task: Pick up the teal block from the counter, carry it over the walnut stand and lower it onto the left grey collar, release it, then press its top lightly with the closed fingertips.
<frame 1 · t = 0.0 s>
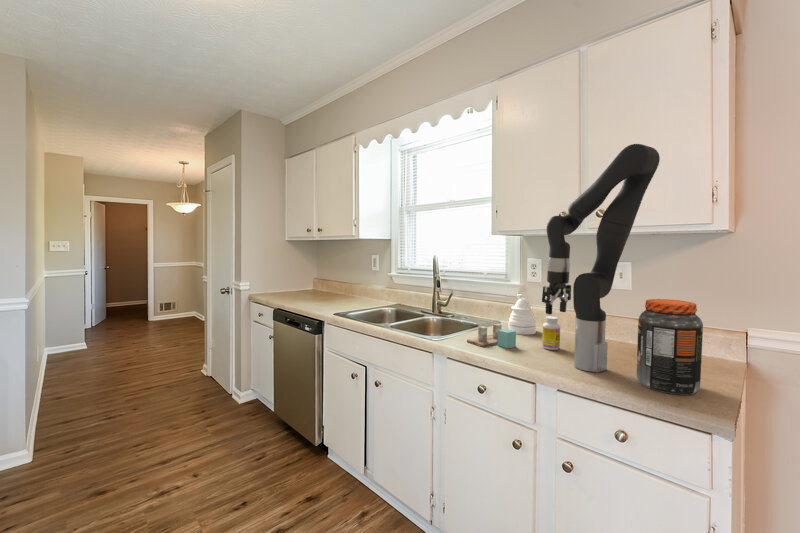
hand: (555, 313, 138), 17 cm above the worktop, tool pointing down, fingers open, 8 cm apart
stand: (489, 341, 162), on the worktop
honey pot: (521, 331, 182), on the worktop
supplement bottle: (550, 348, 152), on the worktop
teal block: (506, 346, 155), on the worktop
supplement tub: (666, 386, 112), on the worktop
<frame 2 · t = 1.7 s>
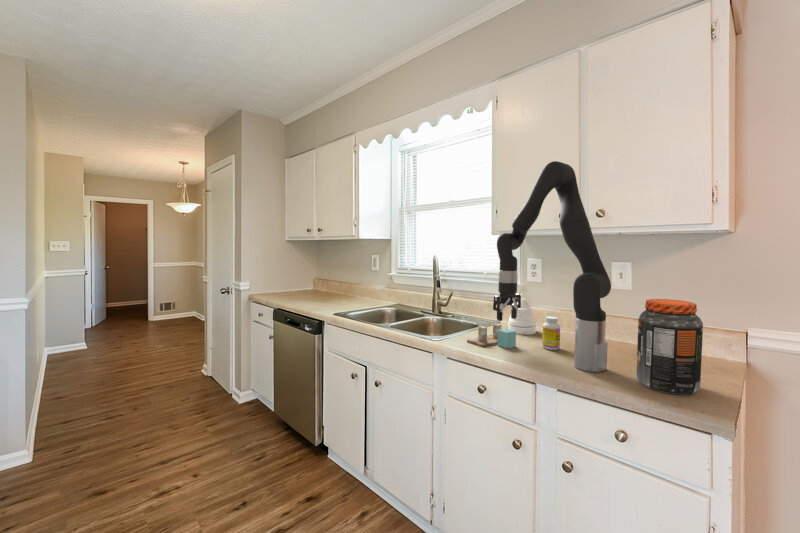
hand: (506, 319, 155), 11 cm above the worktop, tool pointing down, fingers open, 8 cm apart
nothing on the worktop moved.
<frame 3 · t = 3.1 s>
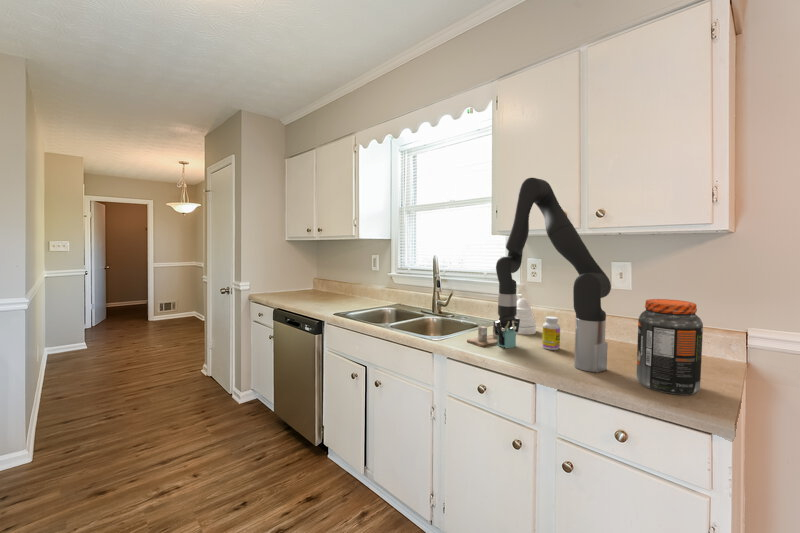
hand: (506, 343, 155), 1 cm above the worktop, tool pointing down, fingers closed on teal block, 5 cm apart
teal block: (506, 346, 155), on the worktop, touching gripper
everything else where it was.
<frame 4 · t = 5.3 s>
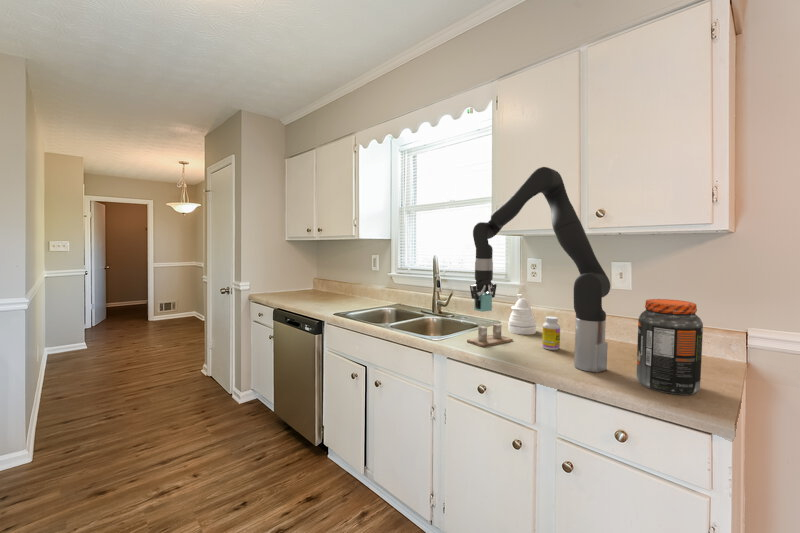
hand: (483, 308, 159), 15 cm above the worktop, tool pointing down, fingers closed on teal block, 5 cm apart
teal block: (482, 310, 159), point 14 cm above the worktop, touching gripper
everything else where it was.
when the fingers open (3 cm above the worktop, at t = 7.6 s): teal block drops 1 cm, resting on stand.
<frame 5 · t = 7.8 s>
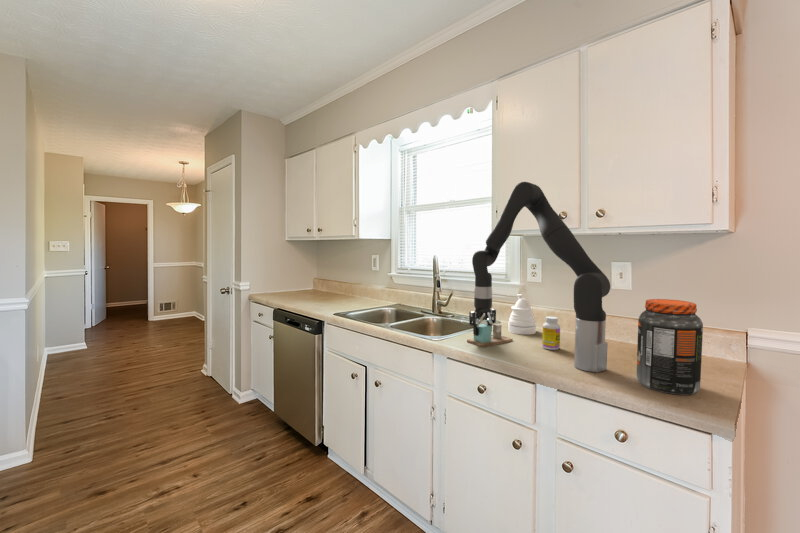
hand: (482, 334, 160), 4 cm above the worktop, tool pointing down, fingers open, 7 cm apart
teal block: (482, 340, 160), point 1 cm above the worktop, touching stand
everything else where it was.
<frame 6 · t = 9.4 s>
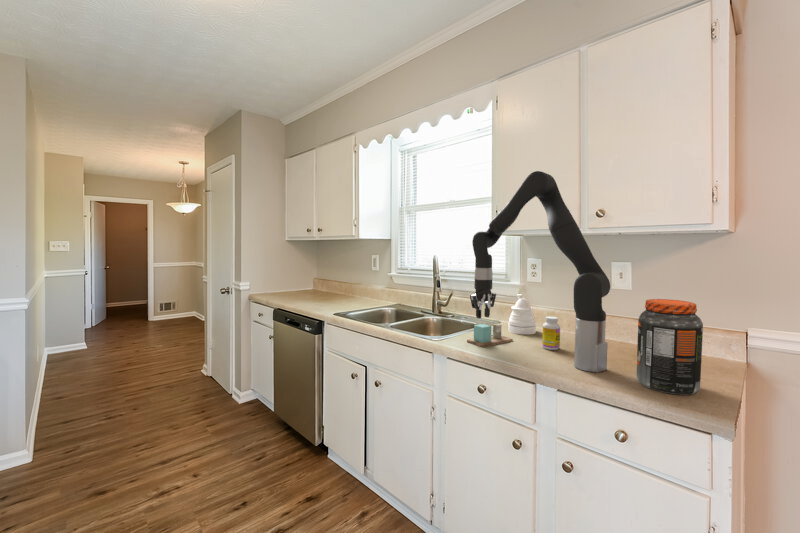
hand: (482, 317, 159), 11 cm above the worktop, tool pointing down, fingers open, 4 cm apart
nothing on the worktop moved.
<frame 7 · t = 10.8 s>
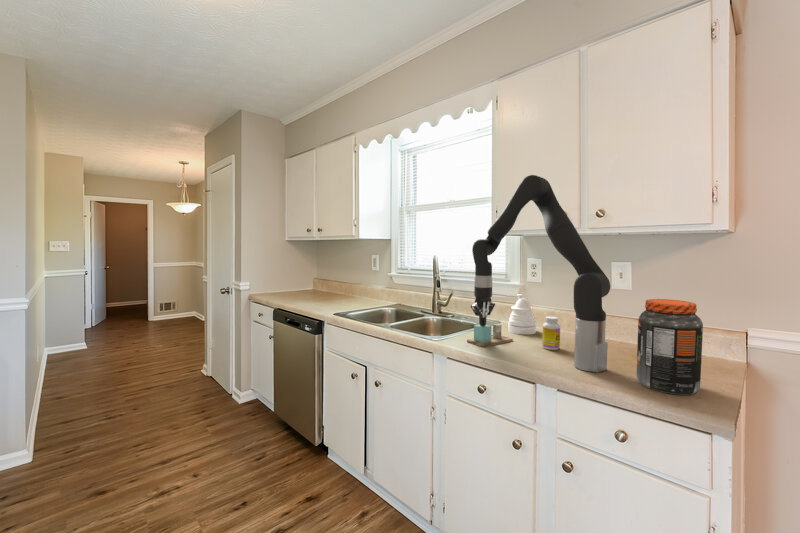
hand: (482, 325, 160), 8 cm above the worktop, tool pointing down, fingers closed
nothing on the worktop moved.
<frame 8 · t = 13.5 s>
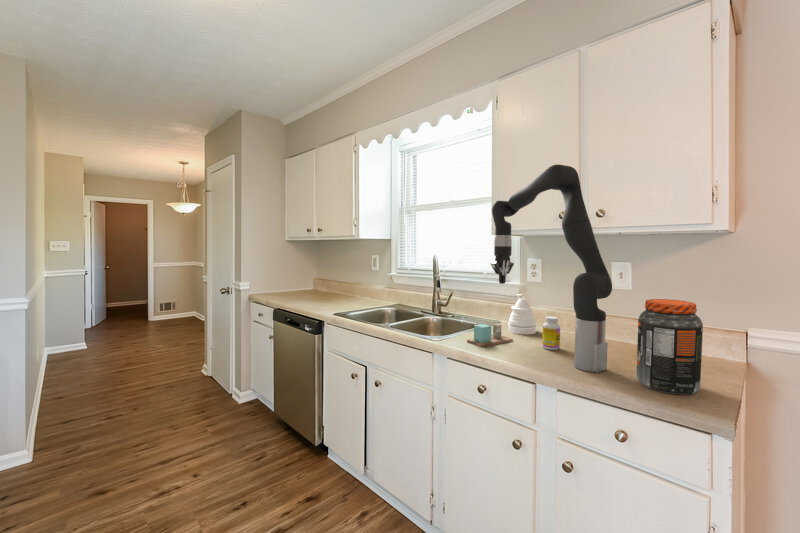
hand: (502, 283, 168), 25 cm above the worktop, tool pointing down, fingers closed
nothing on the worktop moved.
at the end: teal block 0.1 cm from the target spot on the stand, point 1.0 cm above the stand's base; teal block point 1.0 cm above the worktop; the gripper is holding nothing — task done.
